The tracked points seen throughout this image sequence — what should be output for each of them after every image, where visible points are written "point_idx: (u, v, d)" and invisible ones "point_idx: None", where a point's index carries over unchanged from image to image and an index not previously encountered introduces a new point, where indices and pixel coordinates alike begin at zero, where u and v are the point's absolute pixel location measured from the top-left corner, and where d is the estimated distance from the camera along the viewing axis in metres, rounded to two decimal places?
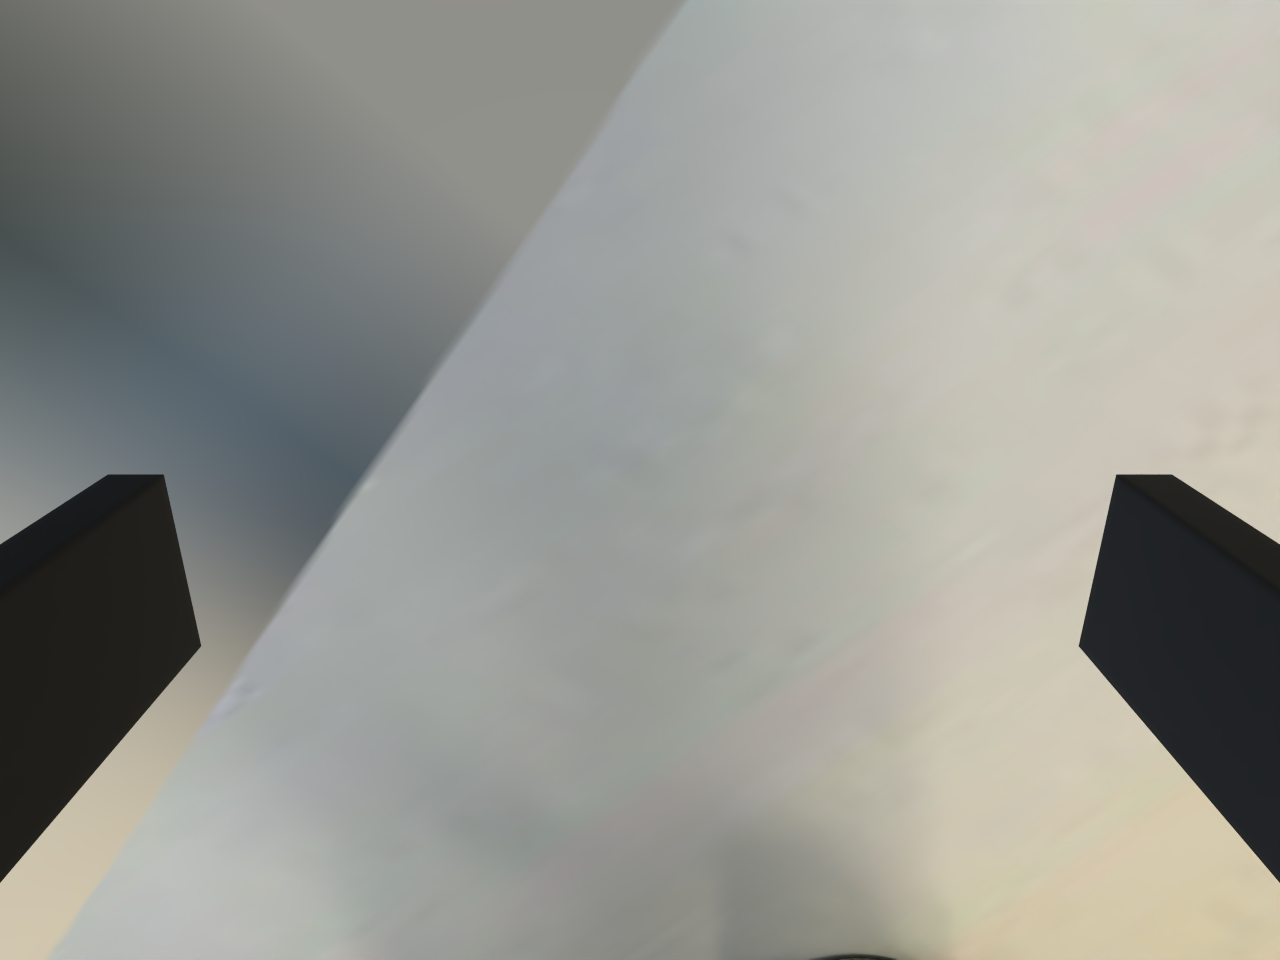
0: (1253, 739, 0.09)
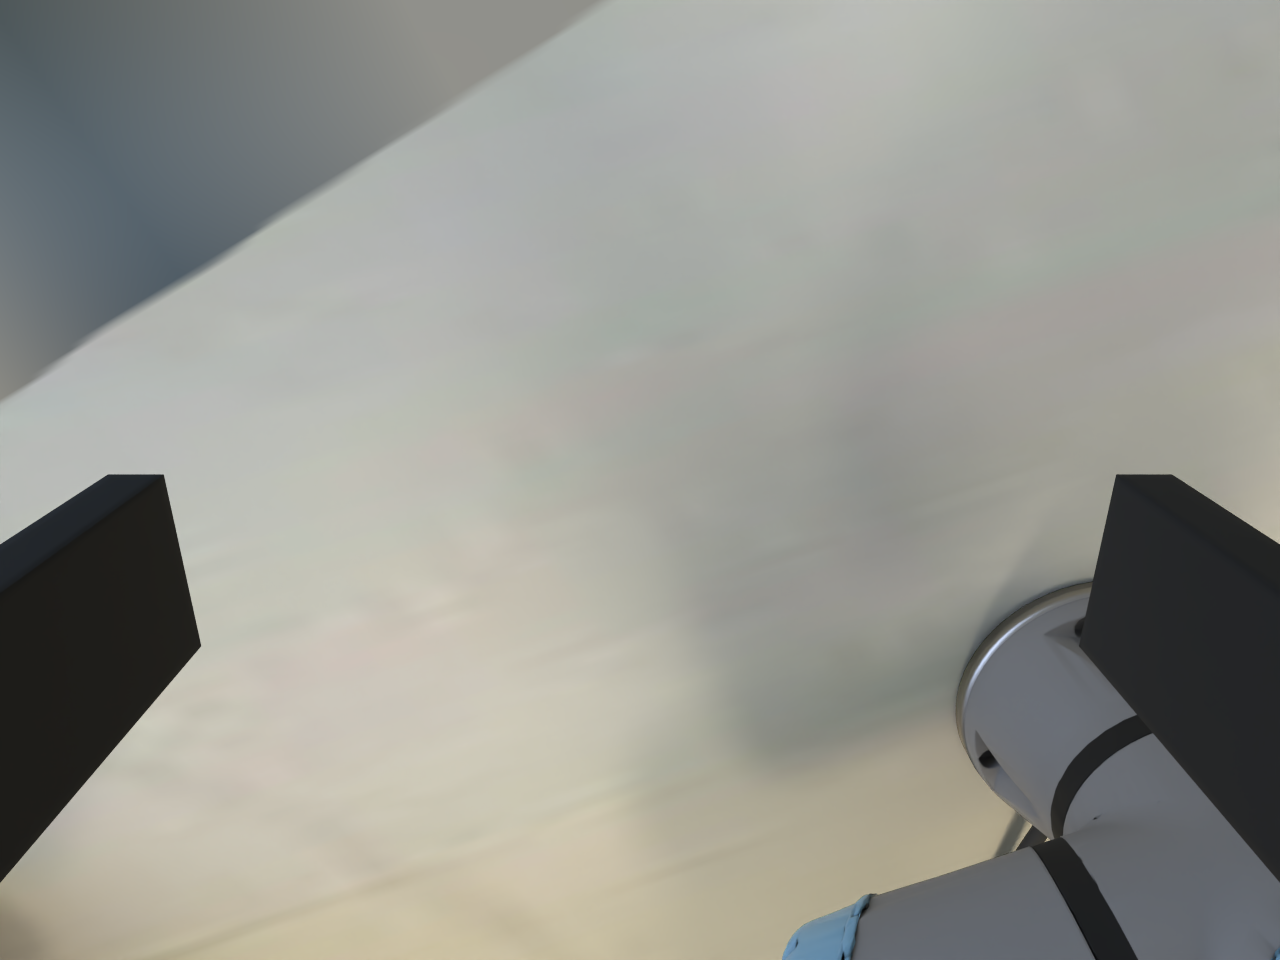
0: (1253, 739, 0.09)
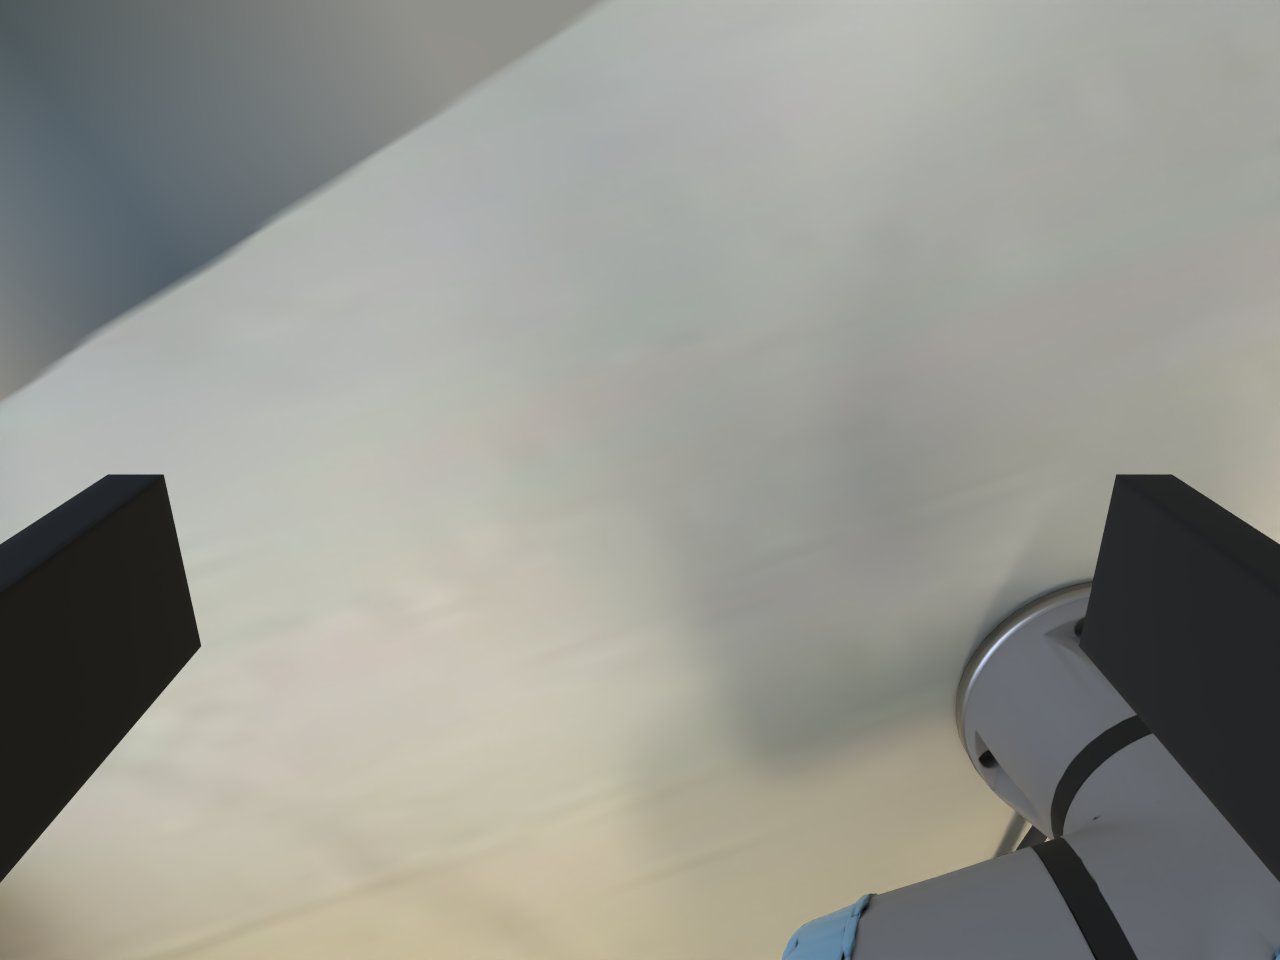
0: (1253, 739, 0.09)
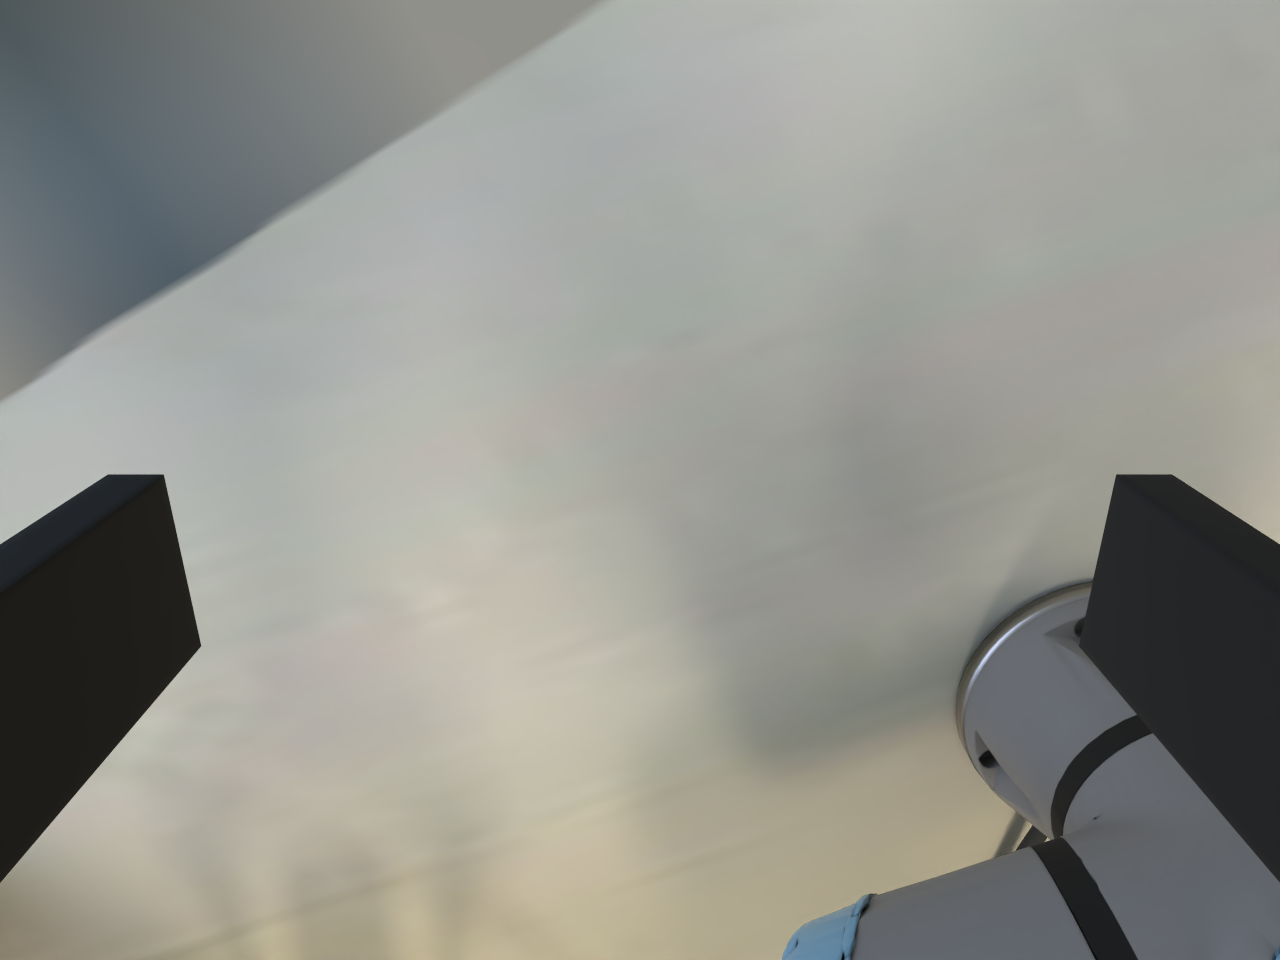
0: (1253, 739, 0.09)
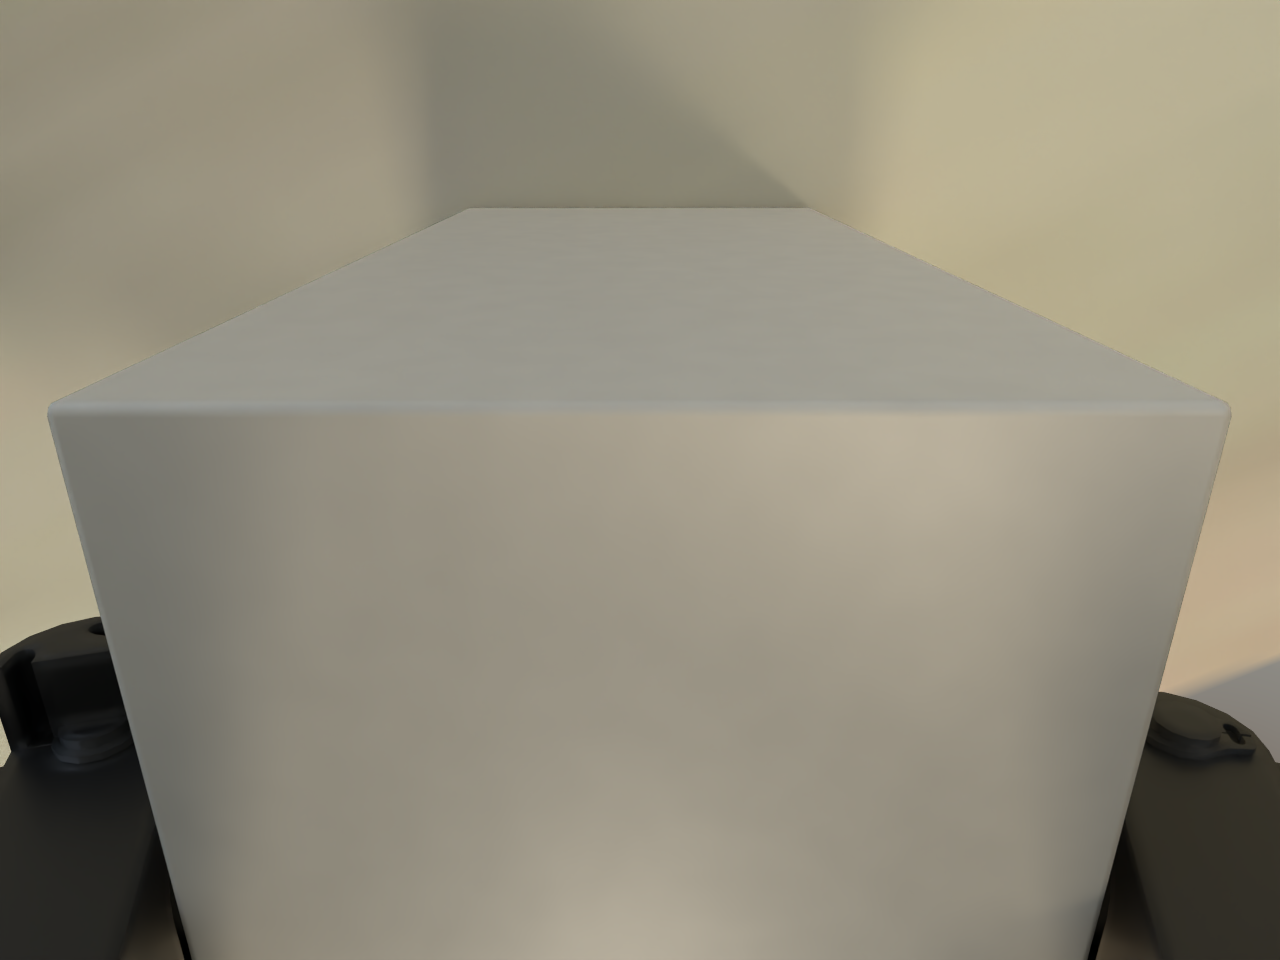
0: None
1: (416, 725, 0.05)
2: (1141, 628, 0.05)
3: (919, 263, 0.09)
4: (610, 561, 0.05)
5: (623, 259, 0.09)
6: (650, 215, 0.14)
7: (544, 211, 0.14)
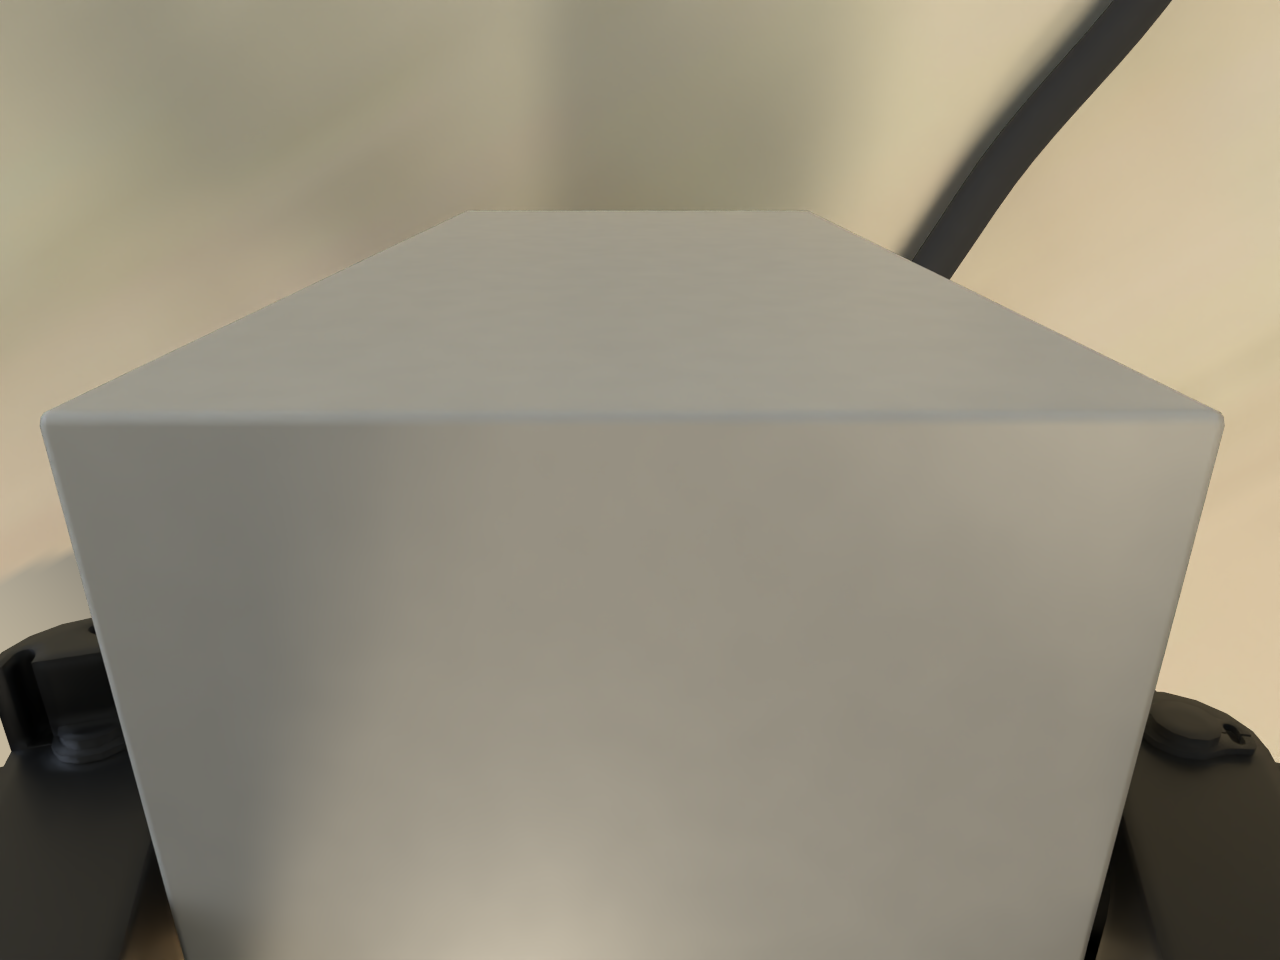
0: None
1: (409, 732, 0.05)
2: (1135, 637, 0.05)
3: (916, 268, 0.09)
4: (604, 571, 0.05)
5: (620, 264, 0.09)
6: (648, 218, 0.14)
7: (542, 214, 0.14)
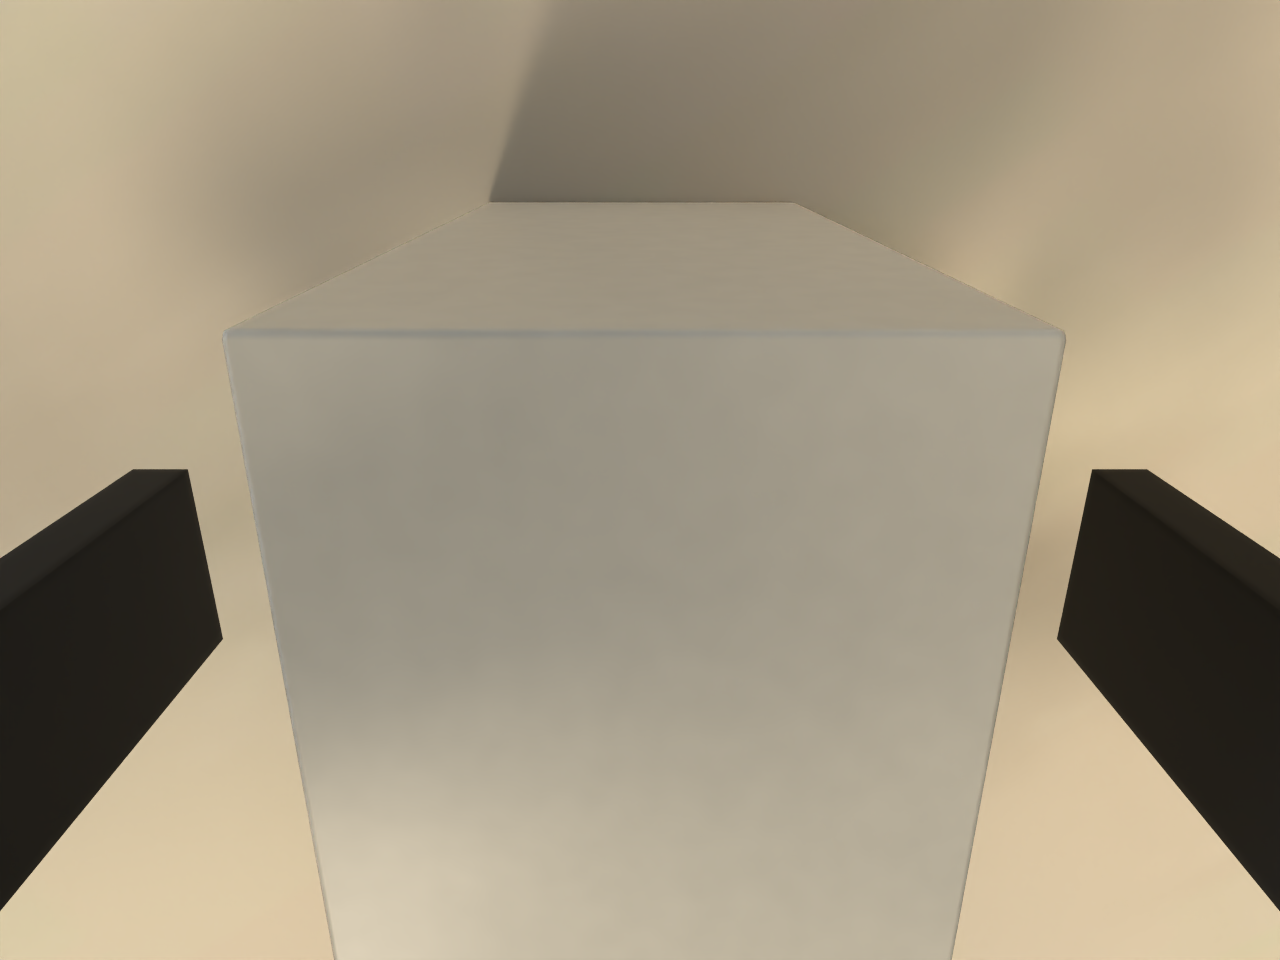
0: (1219, 728, 0.09)
1: (478, 576, 0.07)
2: (1010, 500, 0.07)
3: (875, 245, 0.11)
4: (622, 448, 0.06)
5: (629, 242, 0.11)
6: (651, 208, 0.15)
7: (557, 205, 0.16)
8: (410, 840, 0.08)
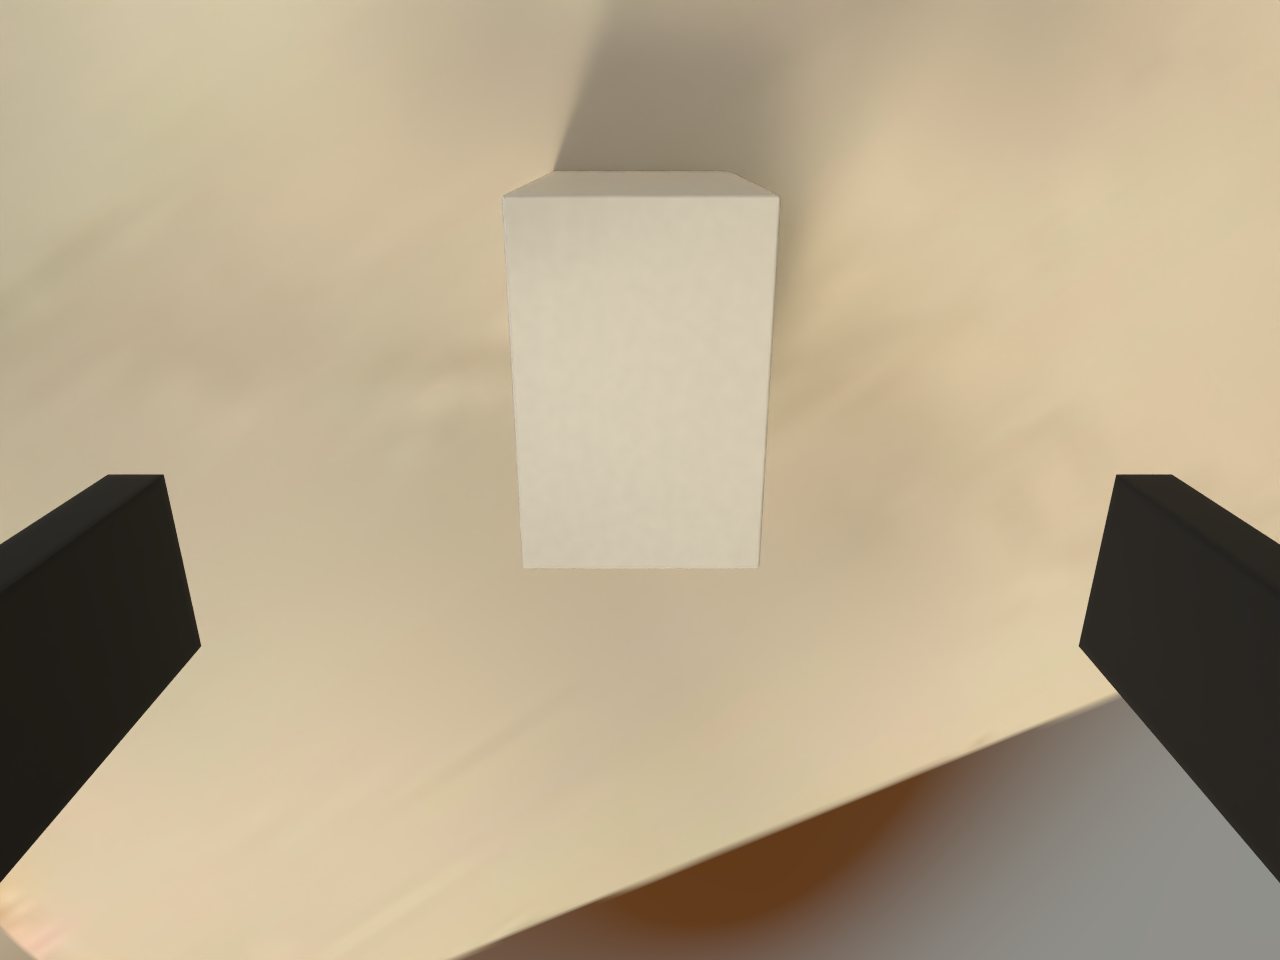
0: (1253, 739, 0.09)
1: (583, 286, 0.19)
2: (767, 257, 0.19)
3: (748, 182, 0.23)
4: (633, 237, 0.19)
5: (634, 181, 0.23)
6: (646, 172, 0.28)
7: None
8: (551, 402, 0.20)
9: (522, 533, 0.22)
